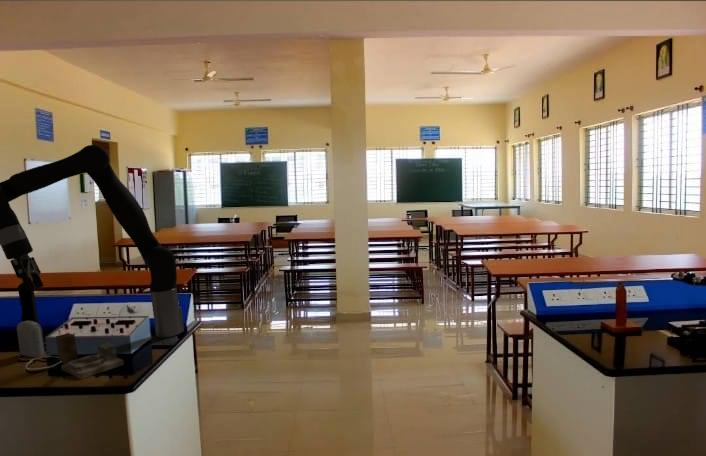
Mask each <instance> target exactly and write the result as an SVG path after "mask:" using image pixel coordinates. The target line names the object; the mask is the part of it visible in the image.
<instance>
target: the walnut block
mask: <svg viewBox="0 0 706 456" xmlns="http://www.w3.org/2000/svg"><path fill="white" fill-rule="evenodd" d="M55 340H56V346H57V354H58V361H59V360H60V361H62V363H63V364H62V365H64V364H66V363H67V362H70V361H74V360H77V359H79V357H78V349H77V344H76V336H75V334H73V333H71V332H67V333H64V334H59V335H56V336H55Z"/></svg>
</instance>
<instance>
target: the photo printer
mask: <svg viewBox="0 0 706 456" xmlns="http://www.w3.org/2000/svg"><path fill="white" fill-rule="evenodd" d="M41 328H42V326H41V325H40V323H39V324H37V323H36V322H33V321H24V322H22V321H20V322H19V323H18V324H17V325H16V332H17V333H16V334H17V335H16V336H17V340H18V341H17V342H18V349H19V353H20V355H21V356H25V357H30V358H40V357H42V356H44V355H45V352H46V351H45V345H44V337H43V336H44V335H43V336H42V329H43V328H42V329H41Z"/></svg>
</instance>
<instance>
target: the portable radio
mask: <svg viewBox="0 0 706 456" xmlns="http://www.w3.org/2000/svg"><path fill="white" fill-rule="evenodd" d="M32 282H33V280H32ZM33 284H34V283H33ZM34 286H35V285H34ZM35 289H37V288H36V287H35V288H33V289H31V290H27V289H26V287H25V285H24V283H23V281H22V282H20V283H19V284H18V286H17V291H18V298H19V303H20V306H21V313H22V314H21V318H20V319H21V320H20V321H21V322H24V321H33V322H36V323H37V324H39V325H40V322H39V315H38V309H37V302H36V295H35ZM41 329H42V336H44V329H43V327H41Z"/></svg>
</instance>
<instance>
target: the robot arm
mask: <svg viewBox="0 0 706 456" xmlns="http://www.w3.org/2000/svg"><path fill="white" fill-rule="evenodd" d="M82 174H87V175H88V176H89V178H90V179H91V180H92V181H93V183H95V185H96V186H97V188H98V190H99V191H100V193H101V195H102V197H103V199H104V201H105V203H106V204H107V206H108V208H109V210H110V211H111V213H112V214H113V216H114V218H115V219H116V222H118V224H119V225H120V227H121V228H122V229H123V230H124V231H125V233H126V235H128V237H129V238H130V240H132V242H133V243H134V245H135V246H136V248H137V250H138V252H139V254H140V256H141V259H142V260H143V262H144V263H145V265H146V267H148V269H149V270H150V271H149V273H150V279H151V280H150V283H149V290H150V298H151V305H152V313H153V321H154V322H153V323H154V330H155V337H157V338H163V339H164V338H170V337H174V336H177V335H180V334H181V333H184V332H185V327H184V321H183V320H184V318H183V312H182V311H183V310H182V306H180V305H179V296H178V290H177V289H178V288H177V282H178V281H177V280H178V273H177V262H176V256H175V254H174V253H173V251H172V250H171V249H169V248H167V247H163V245H162V244H161V243H160V242H159V240H158V239H157V238H156V236H155V235H154V233H153V232H152V230H151V227H150V224H149V221H148V219H147V216H146V214H145V212H144V210H143V208H142V206H141V205H140V203H139V202H138V201H137V199H136V197H135V196H134V195H133V194H132V192H131V191H130V190H129V189H128V187H126V185H125V184H124V183H123V182H122V181H121V180H120V179H119V177H118V176H117V175H116V173H115V171H114V169H113V167H112V166H111V164H110V156H109V152H108V151H107V150H106V149H105V148H103V146H100V145H97V144H88V145H86V146H84V147H83V148H81V149H80V150H79V151H77V152H75V153H73V154H71V155H69V156H67V157H64V158H62V159H59V160H56V161H53V162H50V163H46V164H43V165H39V166H35V167H32V168H29V169H26V170H23V171H20V172H18V173H17V172H16V173H15V174H12V175H11V176H10V177H9V178H8V179H6V180H2V181H1V182H0V247H1V250H2V251H3V254H4V256H5V257H6V259H7V260H9V261H10V264H11V266H12V269H13V271H14V273H15V276H16V278H17V279H20V280H21V281H22V282H23V283H24V285H25V287H26V289H27V290H31V289H33V288H35V287H36V288H35V289H40V288H42V287H44V283H43V280H42V278H41V277H40V274H41V273H42V271H41V270H40V268H39V265H38V264H37V261H36V259H35V257H33V256H31V257H30V256H29V254H31V253H32V252H33V251H34V249H33V247H32V245H31V242H30V240H29V239H28V236H27V234H26V232H25V230H24V228H23V227H22V225H21V223H20V220H19V217H18V216H17V214H16V213H15V211H14V210H13V209H12V207H11V205H10V203H9V202H11V201H14V200H16V199H18V198H19V197H21V196H24V195H27V194H29V193H30V194H31V193H33V192H36V191H39V190H41V189H44V188H47V187H50V186H51V185H54V184H56V183H59V182H60V181H64V180H65V179H68V178H71V177H75V176H79V175H82ZM32 281H33V282H32ZM33 283H34V284H33ZM34 285H35V286H34Z"/></svg>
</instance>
